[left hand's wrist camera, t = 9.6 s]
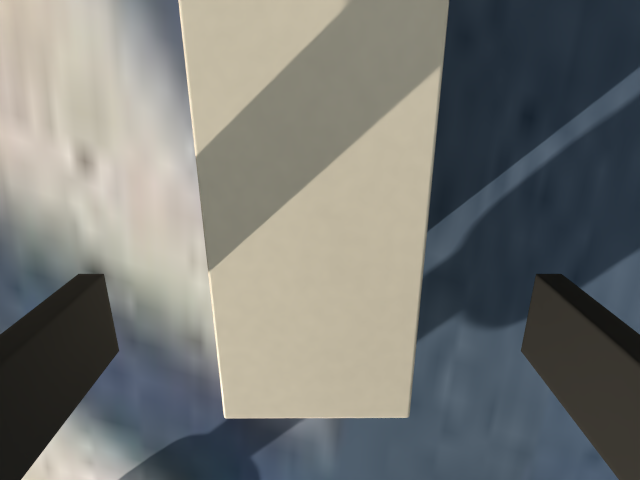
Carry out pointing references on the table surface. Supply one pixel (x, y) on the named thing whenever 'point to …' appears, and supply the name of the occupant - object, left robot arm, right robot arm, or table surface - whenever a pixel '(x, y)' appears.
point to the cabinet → (315, 195)
